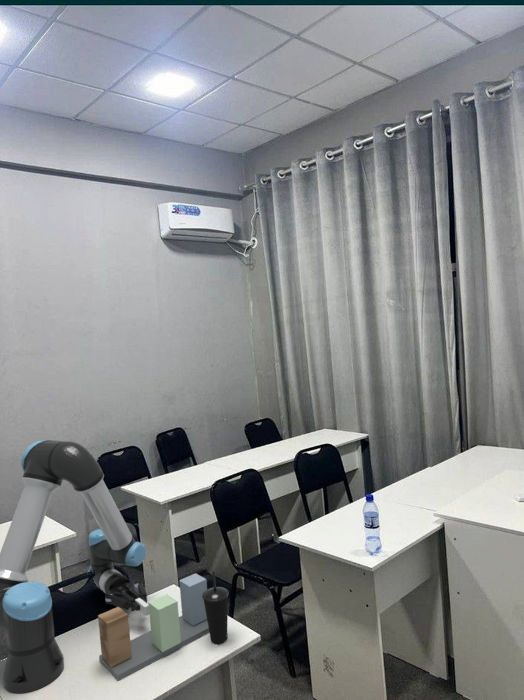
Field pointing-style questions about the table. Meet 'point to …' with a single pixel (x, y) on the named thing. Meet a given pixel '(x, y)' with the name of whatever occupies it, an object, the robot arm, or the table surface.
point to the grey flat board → (154, 649)
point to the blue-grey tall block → (193, 598)
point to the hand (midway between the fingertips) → (147, 610)
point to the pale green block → (164, 622)
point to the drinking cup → (216, 612)
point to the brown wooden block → (114, 636)
